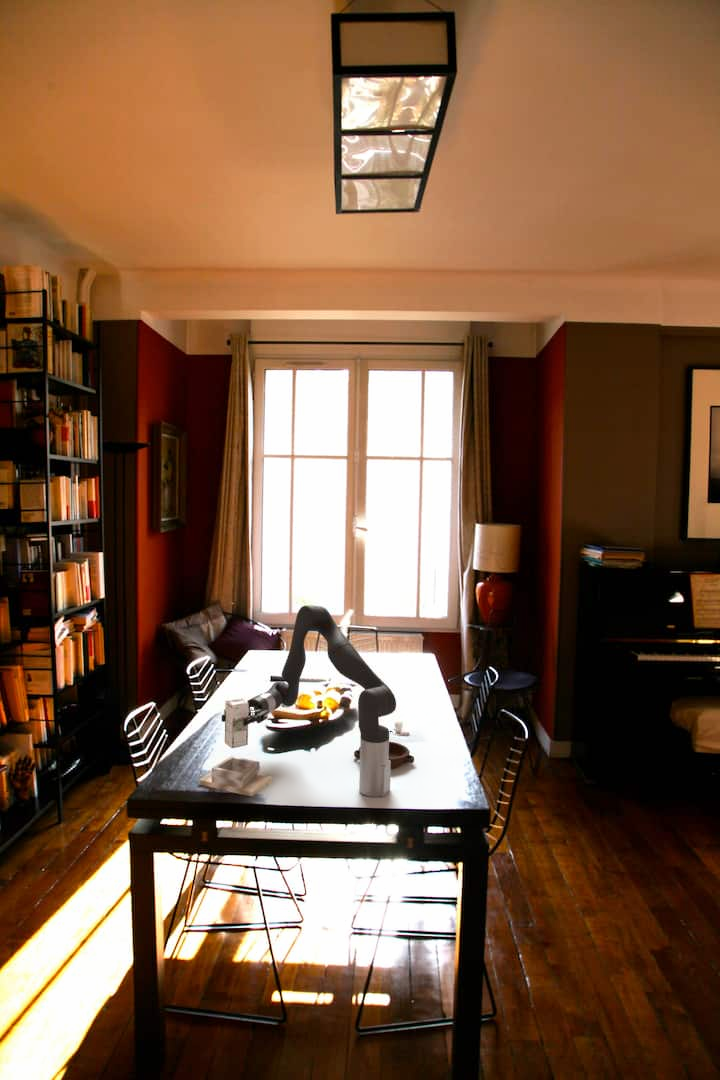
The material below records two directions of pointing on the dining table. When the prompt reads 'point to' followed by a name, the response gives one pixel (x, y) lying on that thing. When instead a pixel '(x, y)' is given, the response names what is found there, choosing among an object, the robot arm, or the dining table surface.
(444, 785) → the dining table surface
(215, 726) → the dining table surface
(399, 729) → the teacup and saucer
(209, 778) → the collar board
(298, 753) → the dining table surface
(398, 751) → the dish
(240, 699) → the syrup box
